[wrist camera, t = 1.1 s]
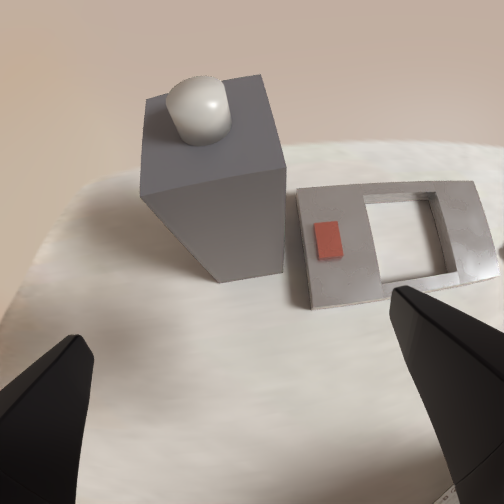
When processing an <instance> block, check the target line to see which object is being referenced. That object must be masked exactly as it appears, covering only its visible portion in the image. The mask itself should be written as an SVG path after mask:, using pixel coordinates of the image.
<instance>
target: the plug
mask: <svg viewBox="0 0 504 504" xmlns="http://www.w3.org/2000/svg"><path fill="white" fill-rule="evenodd" d="M286 168H287V167H286V164H285V160H284V156H283V152H282V148H281V144H280V141H279V137H278V133H277V129H276V126H275V122H274V118H273V115H272V111H271V108H270V104H269V101H268V97H267V94H266V90H265V87H264V83H263V80H262V77H261V75H253V76H246V77H241V78H234V79H229V80H223V81H220V80H219V79H217V78H214V77H211V76H197V77H193V78H189V79H186V80H184V81H182V82H180V83H179V84H177V85H176V86H175V87H174V88H172V90H171V91H170V92H169V93H167V94H163V95H160V96H157V97H153V98H150V99H146V107H145V117H144V127H143V139H142V155H141V173H140V198H141V199H142V200H143V201H144V202H145V203H146V204H147V205H148V207H149V208H150V209H151V210H152V211H153V212H154V213H155V214H156V216H157V217H158V218H159V219H160V220H161V221H162V222H163V223H164V225H165V226H166V227H167V228H168V229H169V230H170V231H171V232H172V233H173V234H174V236H175V237H176V238H177V239H178V240H179V241H180V242H181V243H182V244H183V245H184V246H185V247H186V249H187V250H188V251H189V252H190V253H191V254H192V255H193V256H194V257H195V258H196V259H197V260H198V261H199V263H200V264H201V265H202V266H203V267H204V268H205V269H206V270H207V271H208V272H209V273H210V274H211V275H212V276H213V277H214V278H215V279H216V280H217V282H218V283H224V282H231V281H237V280H243V279H249V278H255V277H261V276H267V275H273V274H278V273H283V263H284V239H285V209H286Z"/></svg>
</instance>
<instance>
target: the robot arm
mask: <svg viewBox="0 0 504 504" xmlns="http://www.w3.org/2000/svg"><path fill="white" fill-rule="evenodd" d="M389 315H390V320H391V323H392V325H393V328H394V331H395V334H396V336H397V339H398V342H399V345H400V348H401V351H402V354H403V357H404V360H405V362H406V365H407V367H408V370H409V372H410V374H411V376H412V378H413V381H414V383H415V385H416V387H417V390H418V392H419V394H420V396H421V399H422V401H423V403H424V406H425V408H426V410H427V413H428V415H429V418H430V420H431V423H432V425H433V428H434V430H435V433H436V435H437V438H438V440H439V443H440V446H441V448H442V451H443V454H444V457H445V459H446V462H447V465H448V468H449V471H450V474H451V477H452V480H453V483H454V485H455V490H456V493H457V496H458V499H459V503H460V504H504V333H503V332H501V331H499V330H497V329H495V328H493V327H491V326H489V325H487V324H485V323H483V322H481V321H479V320H477V319H476V318H474V317H472V316H470V315H468V314H466V313H464V312H462V311H460V310H458V309H456V308H454V307H452V306H450V305H448V304H446V303H443V302H441V301H439V300H437V299H435V298H433V297H431V296H429V295H427V294H425V293H423V292H421V291H419V290H417V289H415V288H412V287H410V286H408V285H403V286H399V287H395V288H394V289H393V290H392V294H391V303H390V311H389ZM93 365H94V356H93V353H92V351H91V350H90V348H89V347H88V345H87V344H86V342H85V340H84V339H83V337H82V336H81V335H78V334H76V335H68V336H67V337H66V338H64V339H63V340H62V341H60V342H59V343H58V344H57V345H55V346H54V347H53V348H52V349H50V350H49V351H48V352H47V353H45V354H44V355H43V356H42V357H40V358H39V359H38V360H37V361H36V362H34V363H33V364H32V365H31V366H29V367H28V368H27V369H26V370H25V371H23V372H22V373H21V374H20V375H19V376H17V377H16V378H15V379H14V380H13V381H12V382H10V383H9V384H8V385H7V386H6V387H4V388H3V389H2V390H1V391H0V504H75V500H76V488H77V478H78V469H79V460H80V453H81V446H82V439H83V433H84V427H85V422H86V416H87V411H88V405H89V398H90V389H91V381H92V373H93Z"/></svg>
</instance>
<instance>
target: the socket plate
mask: <svg viewBox="0 0 504 504" xmlns="http://www.w3.org/2000/svg"><path fill="white" fill-rule="evenodd" d="M418 200H429V203H430V207H431V210H432V213H433V217H434V220H435V224H436V228H437V231H438V235H439V239H440V243H441V247H442V251H443V256H444V260H445V265H446V269H447V274H441V275H435V276H429V277H423V278H417V279H411V280H404V281H398V282H391V283H384V284H381V279H380V273H379V267H378V262H377V257H376V251H375V246H374V242H373V237H372V232H371V228H370V223H369V219H368V214H367V210H366V206H365V204H371V203H385V202H401V201H418ZM296 202H297V209H298V215H299V222H300V229H301V235H302V242H303V250H304V257H305V265H306V272H307V280H308V288H309V297H310V305H311V310H318V309H326V308H334V307H342V306H349V305H356V304H363V303H370V302H376V301H382V300H389V299H391V294H392V290H393V289H394V288H395V287H399V286H403V285H408V286H410V287H412V288H415V289H417V290H419V291H421V292H423V293H429V292H434V291H439V290H444V289H449V288H454V287H459V286H464V285H468V284H473V283H477V282H482V281H486V280H491V279H493V278H495V277H498V276H500V275H501V274H500V269H499V264H498V260H497V256H496V252H495V248H494V244H493V240H492V236H491V233H490V229H489V226H488V223H487V219H486V216H485V213H484V210H483V207H482V204H481V201H480V198H479V195H478V192H477V190H476V187H475V184H474V182H473V181H417V182H389V183H369V184H352V185H337V186H323V187H311V188H299V189H297V192H296Z"/></svg>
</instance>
